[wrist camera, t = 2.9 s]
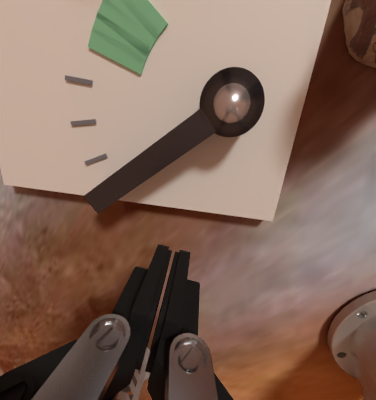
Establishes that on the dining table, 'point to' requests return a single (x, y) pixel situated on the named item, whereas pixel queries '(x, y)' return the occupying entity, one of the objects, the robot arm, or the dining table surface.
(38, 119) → the gauge board
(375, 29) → the figurine
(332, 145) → the dining table surface
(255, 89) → the needle
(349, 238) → the dining table surface
